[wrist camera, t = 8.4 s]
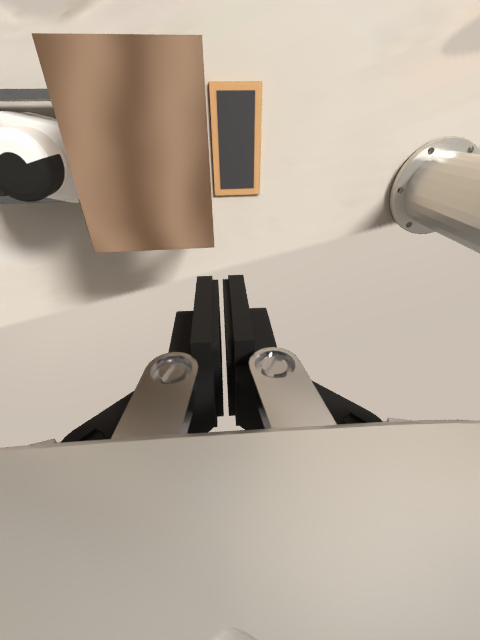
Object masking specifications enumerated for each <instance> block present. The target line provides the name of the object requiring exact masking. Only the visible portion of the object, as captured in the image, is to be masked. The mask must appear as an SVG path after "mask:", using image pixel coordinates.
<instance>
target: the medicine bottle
mask: <svg viewBox="0 0 480 640" xmlns="http://www.w3.org/2000/svg"><path fill="white" fill-rule="evenodd" d="M0 191H2V192H3V193H4V194H6V195H8V196H10V197H11V198H14V199H16V200H20V201H24V202H36V201H39V200H42V199H44V198H51V199H56V200H62V201H67V202H72V203H79V202H80V199H79V196H78V193H77V189H76V186H75V182H74V179H73V175H72V172H71V168H70V165H69V161H68V158H67V154H66V151H65V147H64V144H63V140H62V137H61V134H60V130H59V127H58V123H57V120H56V118H52V117H48V116H44V115H40V114H35V113H31V112H7V111H0Z"/></svg>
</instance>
